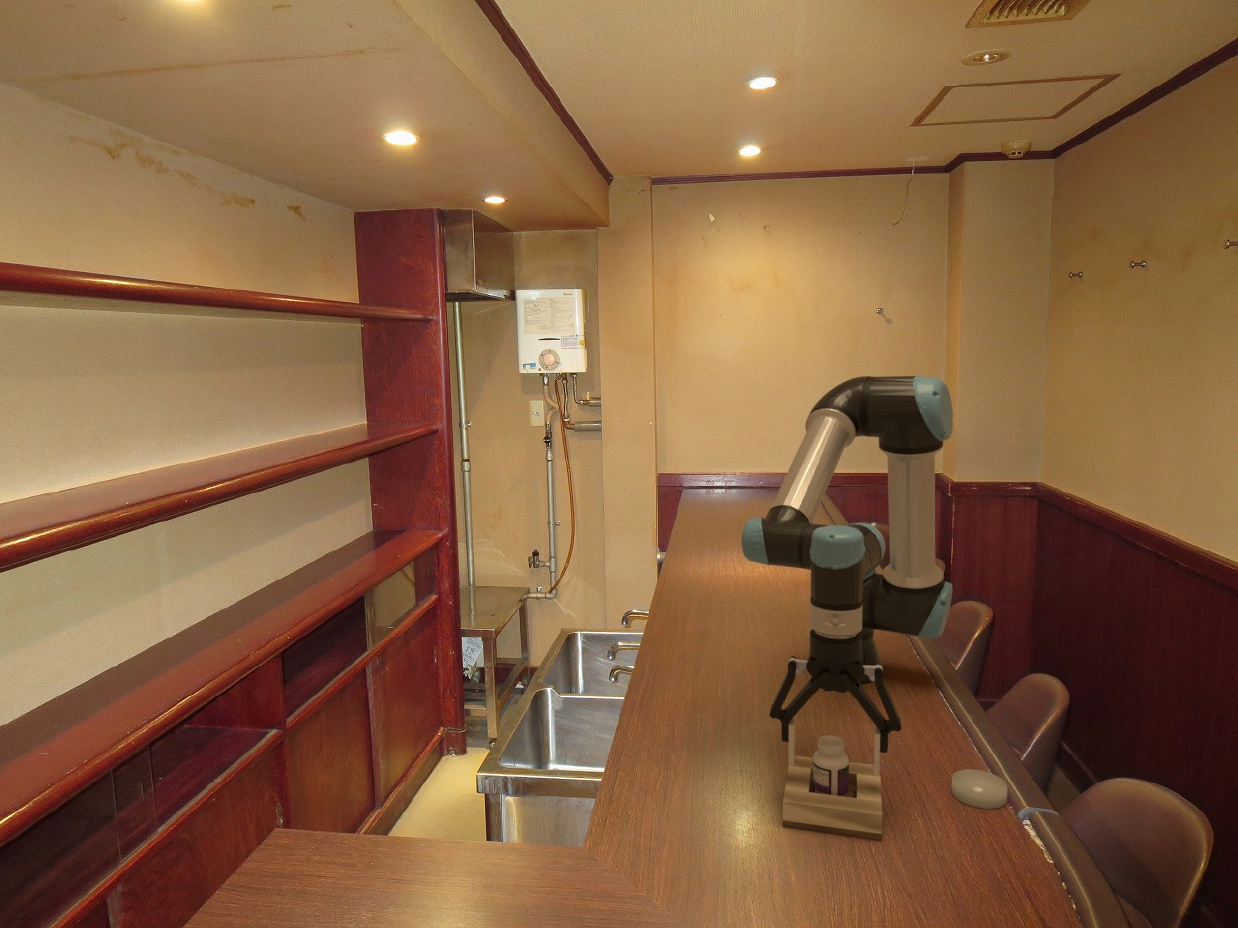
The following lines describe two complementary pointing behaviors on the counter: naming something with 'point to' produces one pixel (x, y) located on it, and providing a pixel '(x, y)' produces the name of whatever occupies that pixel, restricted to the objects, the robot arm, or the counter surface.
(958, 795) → the beige oval dome
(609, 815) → the counter surface
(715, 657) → the counter surface
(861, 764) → the socket block
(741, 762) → the counter surface
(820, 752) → the pill bottle
